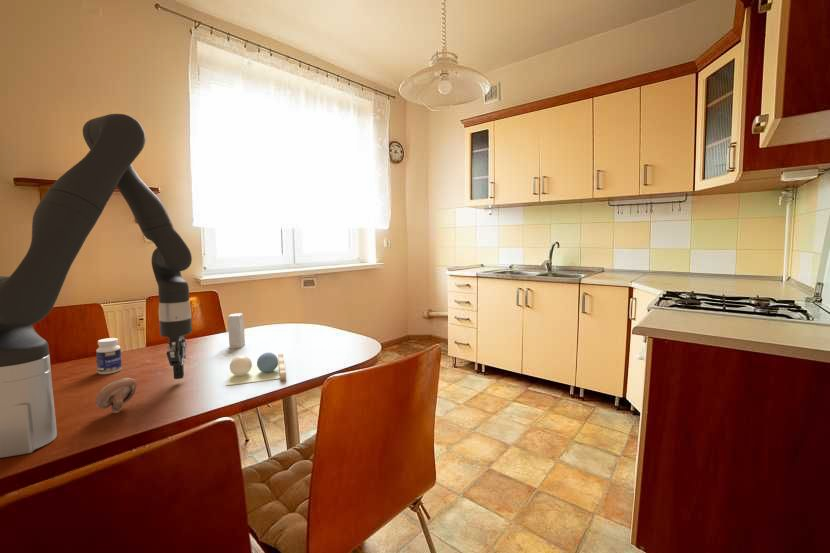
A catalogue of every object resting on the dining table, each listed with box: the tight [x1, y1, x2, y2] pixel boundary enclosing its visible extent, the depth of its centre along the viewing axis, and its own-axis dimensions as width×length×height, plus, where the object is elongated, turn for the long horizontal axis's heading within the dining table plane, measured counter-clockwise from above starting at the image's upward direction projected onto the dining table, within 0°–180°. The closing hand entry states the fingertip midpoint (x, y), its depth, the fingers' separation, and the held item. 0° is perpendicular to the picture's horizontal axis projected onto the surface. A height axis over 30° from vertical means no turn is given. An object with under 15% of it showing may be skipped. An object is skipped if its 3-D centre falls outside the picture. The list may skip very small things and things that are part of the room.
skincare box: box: [227, 312, 246, 349], centre depth 139 cm, size 6×4×12 cm
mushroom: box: [95, 377, 138, 414], centre depth 85 cm, size 8×6×8 cm
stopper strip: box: [277, 353, 287, 382], centre depth 113 cm, size 18×2×2 cm, turn 22°
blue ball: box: [256, 352, 279, 373], centre depth 112 cm, size 6×6×6 cm
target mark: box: [226, 362, 280, 387], centre depth 110 cm, size 14×14×1 cm
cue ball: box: [229, 355, 253, 376], centre depth 109 cm, size 6×6×6 cm
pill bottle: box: [95, 337, 123, 375], centre depth 111 cm, size 6×6×10 cm
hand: (179, 377), depth 103 cm, fingers closed
